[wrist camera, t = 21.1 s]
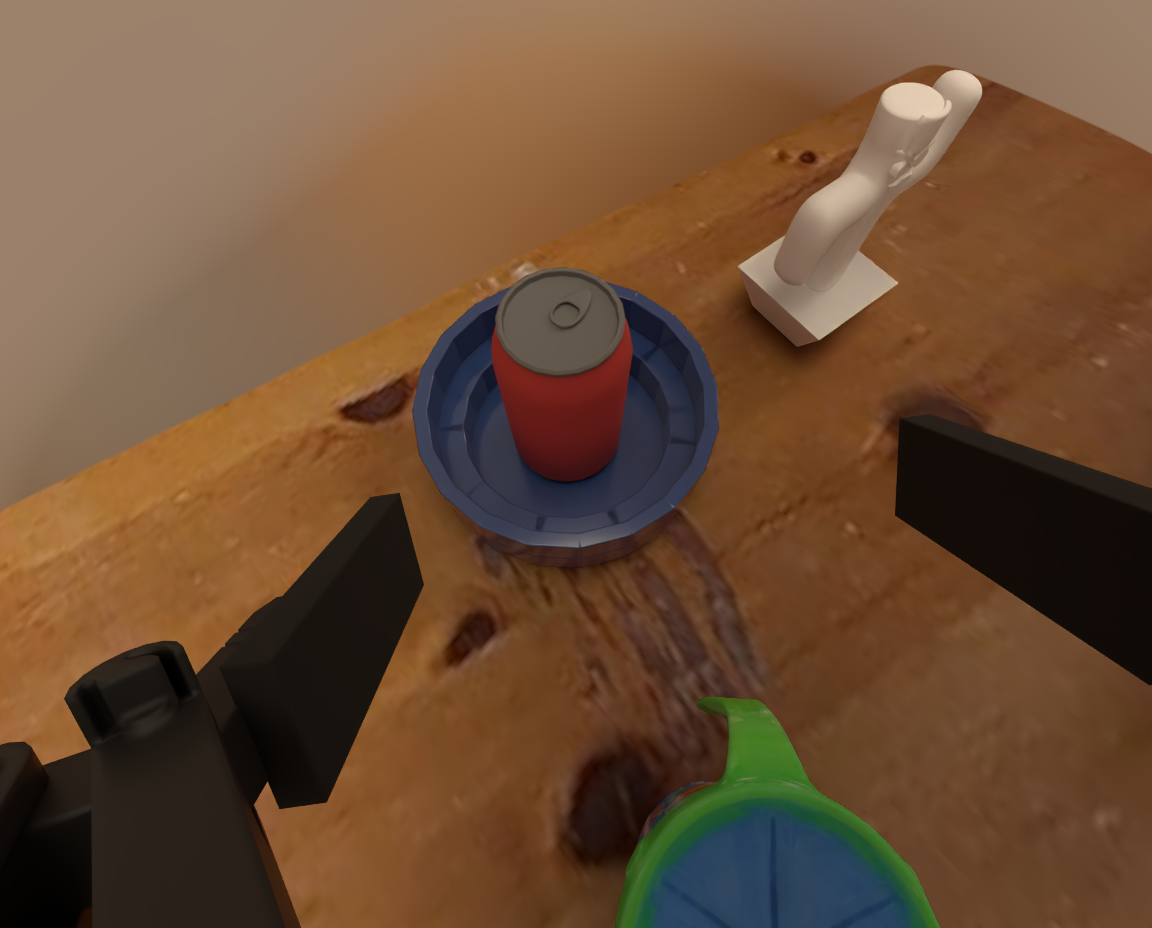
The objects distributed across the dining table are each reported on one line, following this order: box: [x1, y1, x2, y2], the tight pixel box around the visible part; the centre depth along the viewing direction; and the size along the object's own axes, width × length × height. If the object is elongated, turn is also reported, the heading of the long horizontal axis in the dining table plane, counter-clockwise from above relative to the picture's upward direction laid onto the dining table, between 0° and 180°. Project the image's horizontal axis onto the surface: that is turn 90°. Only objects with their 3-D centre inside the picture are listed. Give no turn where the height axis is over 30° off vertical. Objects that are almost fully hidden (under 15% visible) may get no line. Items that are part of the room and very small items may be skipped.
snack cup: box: [615, 697, 940, 928], centre depth 21 cm, size 16×10×10 cm
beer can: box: [491, 267, 633, 482], centre depth 28 cm, size 7×7×12 cm
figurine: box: [738, 70, 982, 347], centre depth 31 cm, size 7×9×15 cm
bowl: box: [412, 282, 719, 568], centre depth 32 cm, size 17×17×6 cm
